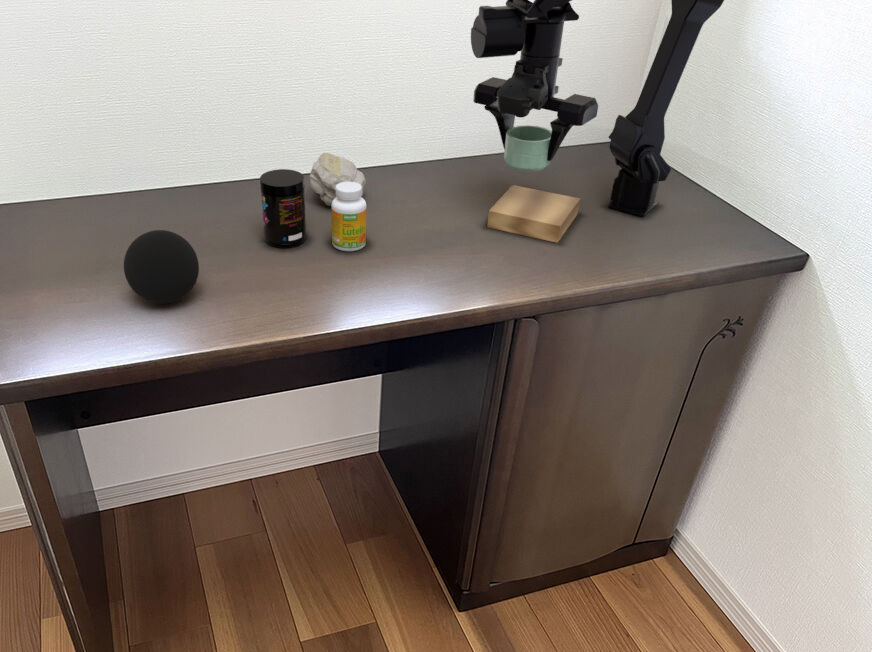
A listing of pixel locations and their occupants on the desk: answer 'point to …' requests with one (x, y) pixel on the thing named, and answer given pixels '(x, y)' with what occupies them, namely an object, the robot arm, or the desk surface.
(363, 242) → the supplement bottle
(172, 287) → the decorative ball
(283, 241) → the supplement container
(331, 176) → the fossil replica
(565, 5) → the robot arm
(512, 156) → the bowl
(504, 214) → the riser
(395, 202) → the desk surface
